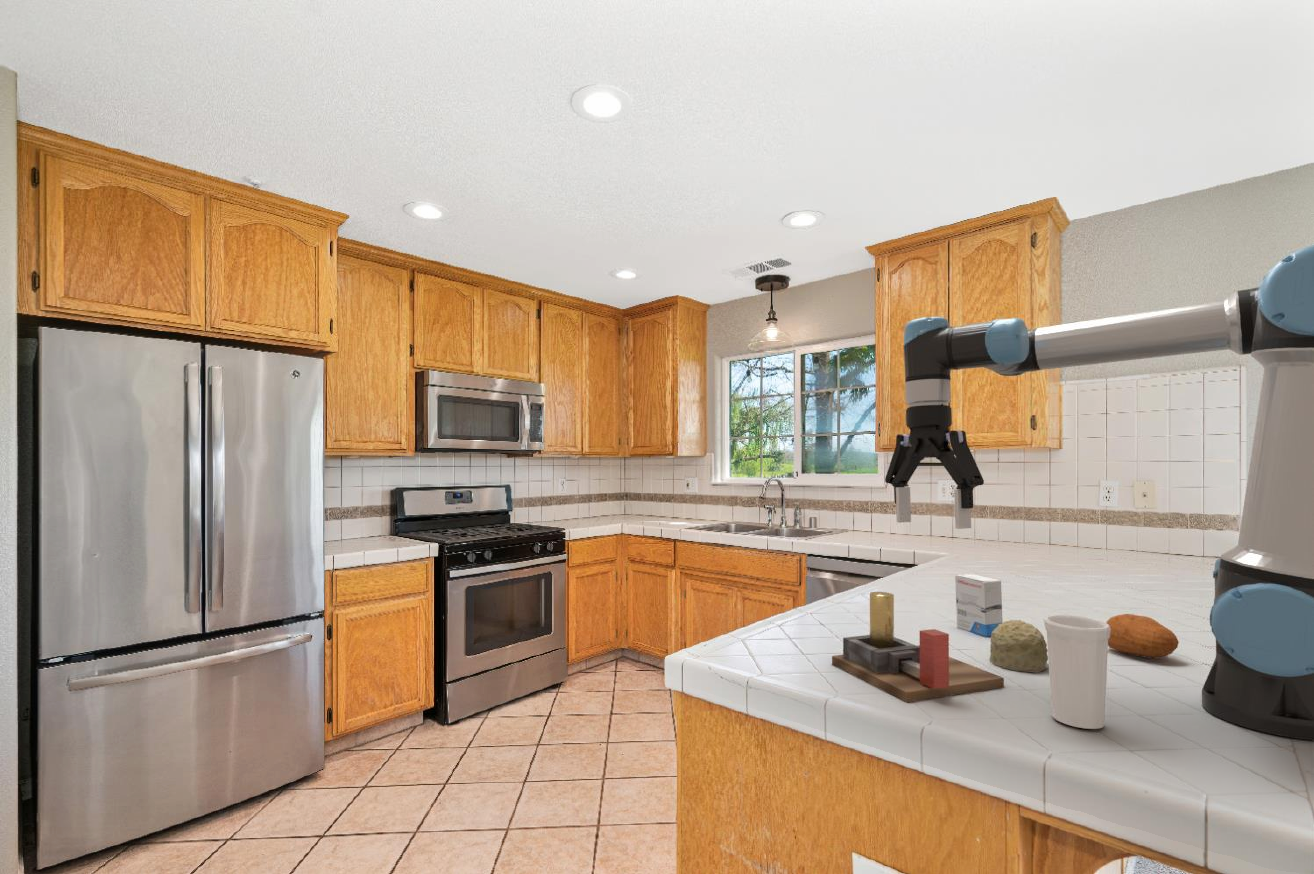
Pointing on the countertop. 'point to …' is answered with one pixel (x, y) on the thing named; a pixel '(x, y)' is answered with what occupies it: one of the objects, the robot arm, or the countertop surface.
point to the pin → (930, 660)
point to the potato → (1140, 636)
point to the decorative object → (1018, 647)
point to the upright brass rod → (881, 620)
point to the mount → (886, 675)
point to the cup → (1077, 669)
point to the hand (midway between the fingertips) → (932, 525)
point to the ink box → (978, 603)
